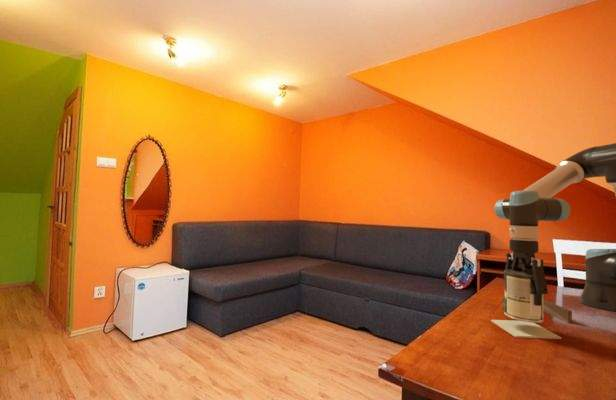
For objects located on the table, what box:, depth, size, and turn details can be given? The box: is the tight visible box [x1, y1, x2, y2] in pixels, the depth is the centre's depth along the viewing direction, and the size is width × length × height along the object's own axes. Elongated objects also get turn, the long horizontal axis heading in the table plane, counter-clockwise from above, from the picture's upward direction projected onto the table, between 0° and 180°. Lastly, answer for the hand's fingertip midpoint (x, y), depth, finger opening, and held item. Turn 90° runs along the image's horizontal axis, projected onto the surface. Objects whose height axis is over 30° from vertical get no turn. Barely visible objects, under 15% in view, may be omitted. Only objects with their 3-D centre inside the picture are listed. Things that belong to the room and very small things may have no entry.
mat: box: [490, 319, 562, 340], centre depth 96 cm, size 13×13×1 cm
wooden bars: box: [501, 297, 573, 324], centre depth 109 cm, size 15×13×4 cm
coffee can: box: [503, 269, 545, 324], centre depth 96 cm, size 10×10×14 cm
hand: (523, 309), depth 96 cm, fingers closed on coffee can, 10 cm apart
